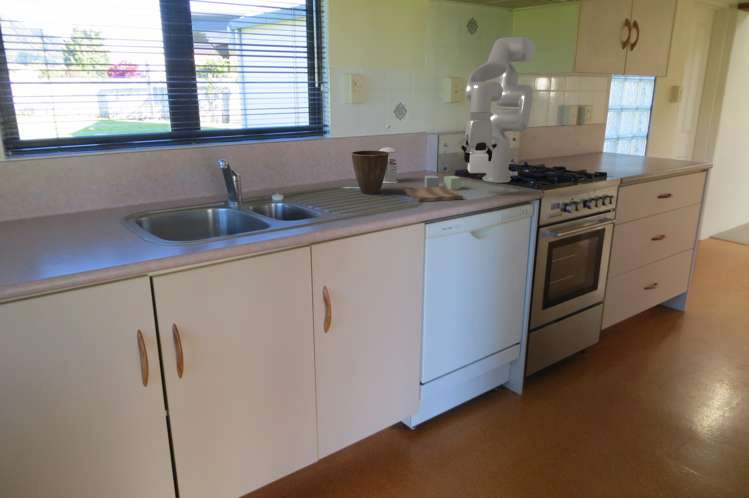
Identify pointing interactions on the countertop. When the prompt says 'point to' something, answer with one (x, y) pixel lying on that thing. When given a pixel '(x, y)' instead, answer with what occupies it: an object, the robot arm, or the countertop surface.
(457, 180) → the sage block
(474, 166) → the medicine bottle
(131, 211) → the countertop surface
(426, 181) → the slate block
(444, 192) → the walnut board
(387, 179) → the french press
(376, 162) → the plant pot
